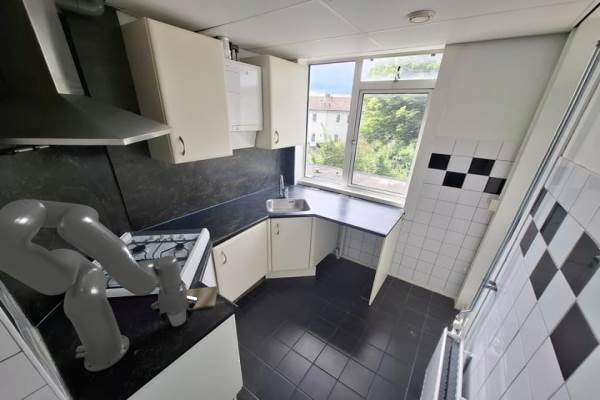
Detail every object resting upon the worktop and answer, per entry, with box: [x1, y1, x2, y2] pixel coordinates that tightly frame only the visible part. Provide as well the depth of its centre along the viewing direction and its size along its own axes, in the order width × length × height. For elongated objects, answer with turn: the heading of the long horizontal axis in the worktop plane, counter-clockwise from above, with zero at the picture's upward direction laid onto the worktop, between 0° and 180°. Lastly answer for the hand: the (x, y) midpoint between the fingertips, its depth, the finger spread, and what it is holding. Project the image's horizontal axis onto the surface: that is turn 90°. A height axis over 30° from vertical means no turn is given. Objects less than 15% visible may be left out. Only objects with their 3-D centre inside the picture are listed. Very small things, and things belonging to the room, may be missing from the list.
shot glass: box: [167, 310, 187, 327], centre depth 93 cm, size 7×7×7 cm
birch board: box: [185, 285, 219, 312], centre depth 105 cm, size 20×12×1 cm, turn 103°
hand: (178, 316), depth 94 cm, fingers open, 9 cm apart
